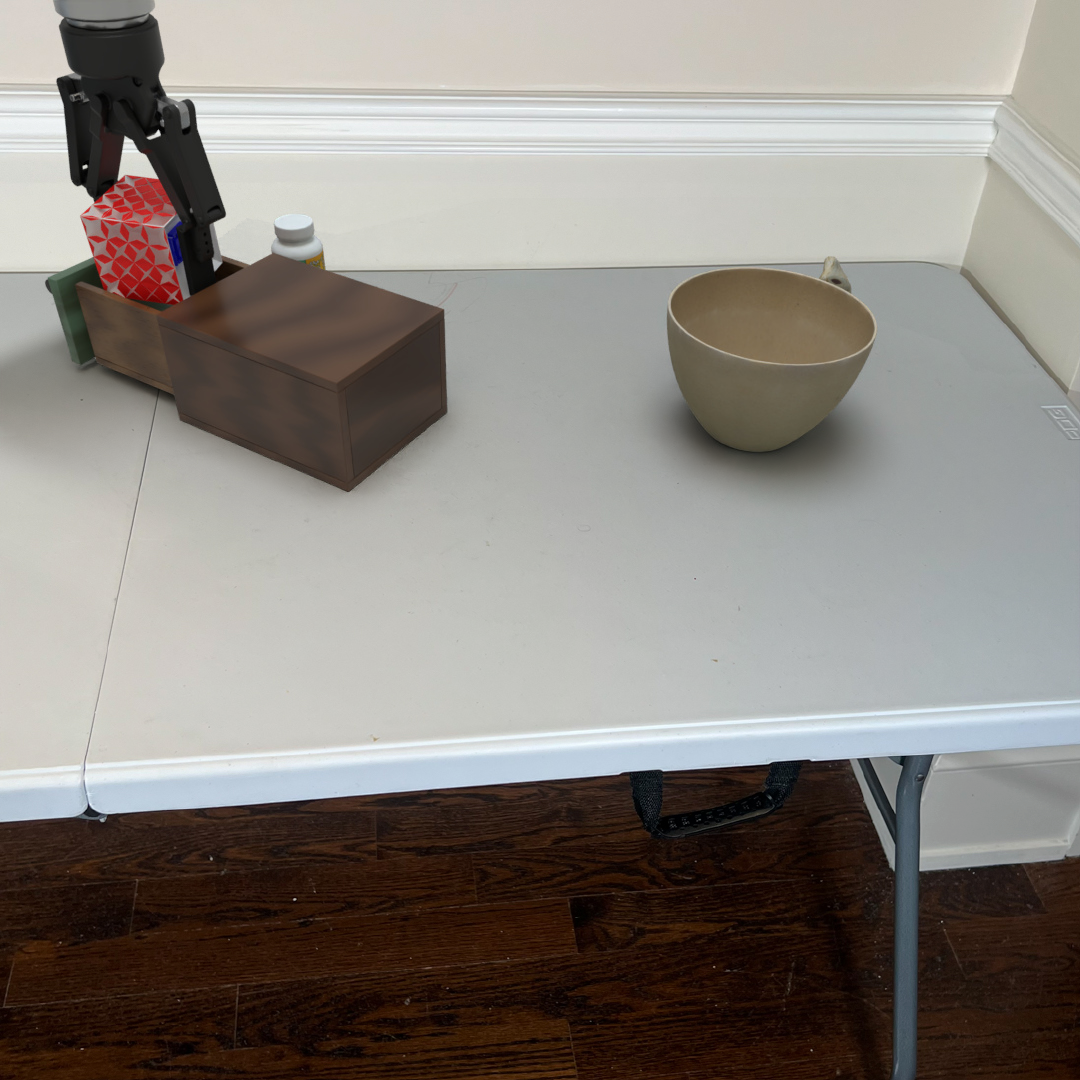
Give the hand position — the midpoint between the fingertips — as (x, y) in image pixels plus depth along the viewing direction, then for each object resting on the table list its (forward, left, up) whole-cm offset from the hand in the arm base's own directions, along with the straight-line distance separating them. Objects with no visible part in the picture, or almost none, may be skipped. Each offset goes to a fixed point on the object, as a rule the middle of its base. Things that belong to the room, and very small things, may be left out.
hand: (164, 276), depth 97 cm
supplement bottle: (+2, +16, -10) cm, 19 cm away
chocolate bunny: (+52, +40, -10) cm, 66 cm away
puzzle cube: (0, 0, 0) cm, 0 cm away
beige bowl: (+52, +21, -10) cm, 57 cm away
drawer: (-1, 0, -8) cm, 8 cm away
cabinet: (+17, 0, -9) cm, 19 cm away
